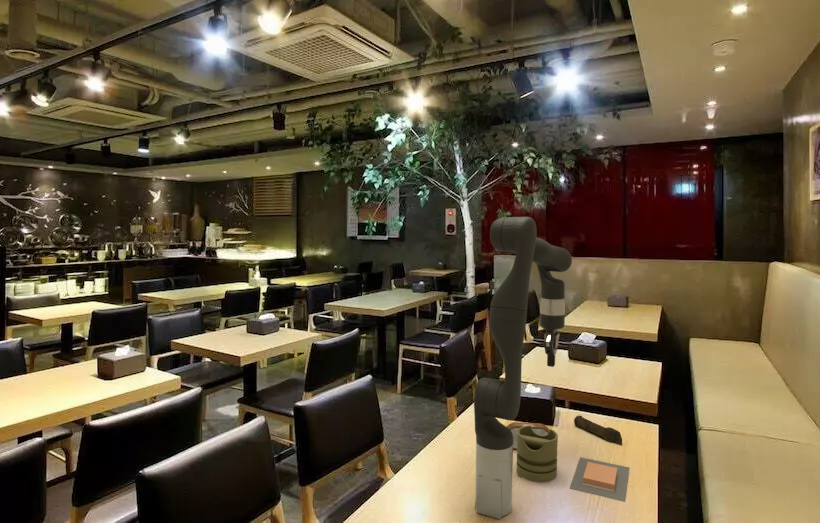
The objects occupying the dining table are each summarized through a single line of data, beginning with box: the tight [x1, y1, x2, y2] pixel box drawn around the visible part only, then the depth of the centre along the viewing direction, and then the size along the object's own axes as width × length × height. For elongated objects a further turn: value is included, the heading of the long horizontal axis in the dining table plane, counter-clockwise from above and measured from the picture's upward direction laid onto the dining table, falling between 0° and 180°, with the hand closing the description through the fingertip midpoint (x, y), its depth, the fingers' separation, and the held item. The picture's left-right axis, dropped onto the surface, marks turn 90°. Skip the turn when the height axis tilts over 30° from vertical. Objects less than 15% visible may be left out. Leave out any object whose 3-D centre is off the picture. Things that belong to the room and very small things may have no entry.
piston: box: [516, 425, 559, 483], centre depth 143 cm, size 11×12×11 cm
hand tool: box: [573, 415, 623, 446], centre depth 168 cm, size 19×4×5 cm, turn 25°
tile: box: [583, 462, 617, 492], centre depth 139 cm, size 2×8×10 cm
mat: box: [569, 456, 631, 503], centre depth 140 cm, size 20×14×1 cm
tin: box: [506, 421, 550, 451], centre depth 158 cm, size 15×3×8 cm, turn 84°
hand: (551, 365), depth 157 cm, fingers closed
